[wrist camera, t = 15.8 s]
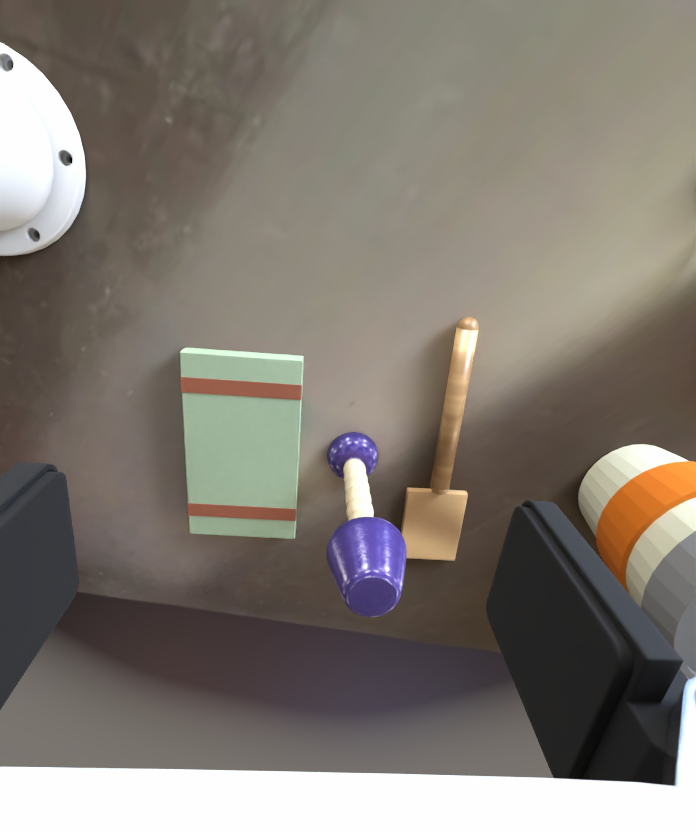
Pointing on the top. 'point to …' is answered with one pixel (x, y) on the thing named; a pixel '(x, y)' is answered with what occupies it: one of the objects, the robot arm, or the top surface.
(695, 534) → the reusable coffee cup
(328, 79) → the top surface
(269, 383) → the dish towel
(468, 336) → the wooden spatula
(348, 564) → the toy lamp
